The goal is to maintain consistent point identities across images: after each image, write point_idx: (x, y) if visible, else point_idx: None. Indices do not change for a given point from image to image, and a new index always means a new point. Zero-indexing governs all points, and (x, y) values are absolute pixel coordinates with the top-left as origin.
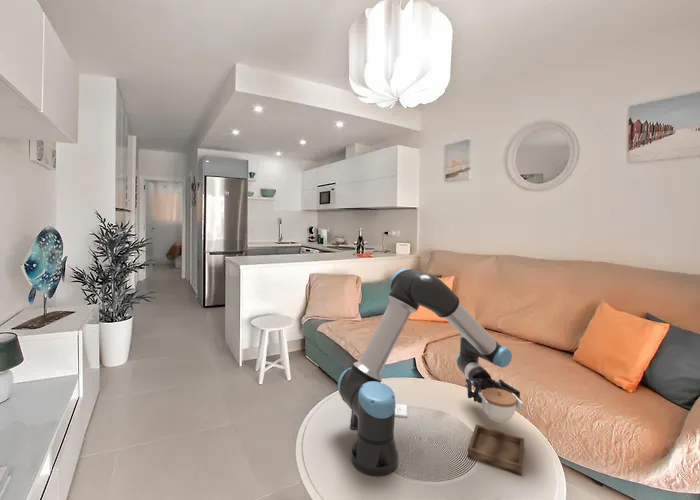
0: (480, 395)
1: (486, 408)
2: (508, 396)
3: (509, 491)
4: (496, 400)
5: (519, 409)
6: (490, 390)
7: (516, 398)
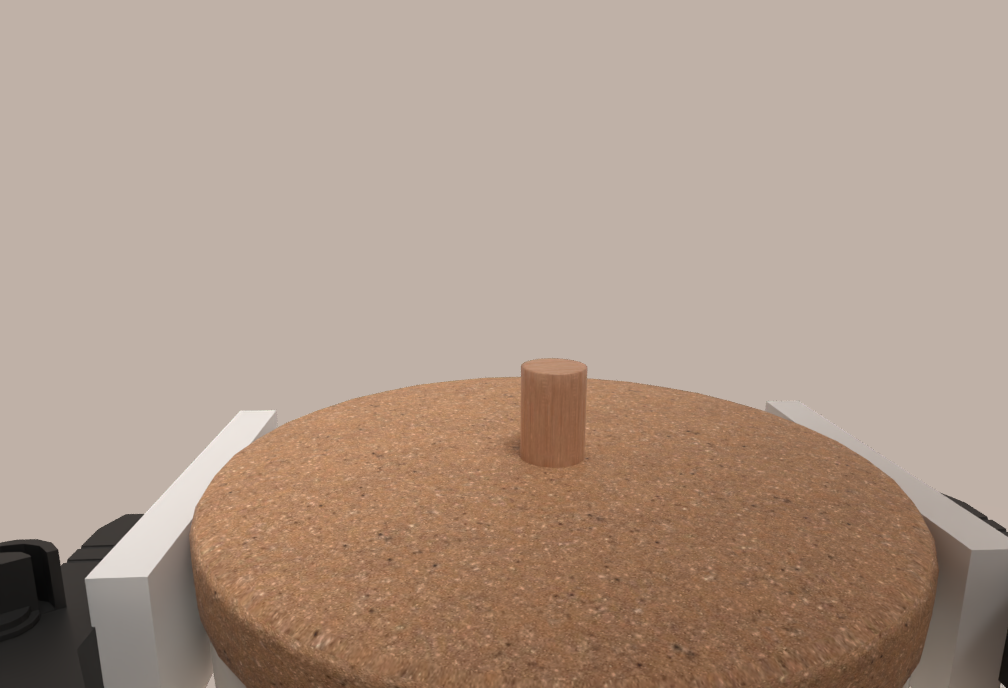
0: (934, 492)
1: None
2: (385, 436)
3: None
4: (647, 393)
5: None
6: (719, 546)
7: None
